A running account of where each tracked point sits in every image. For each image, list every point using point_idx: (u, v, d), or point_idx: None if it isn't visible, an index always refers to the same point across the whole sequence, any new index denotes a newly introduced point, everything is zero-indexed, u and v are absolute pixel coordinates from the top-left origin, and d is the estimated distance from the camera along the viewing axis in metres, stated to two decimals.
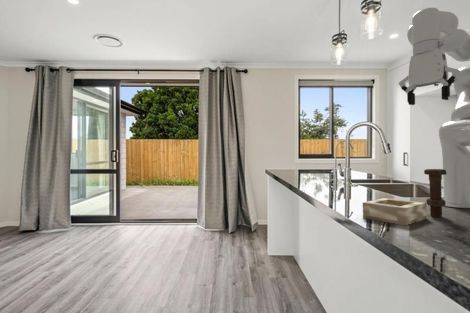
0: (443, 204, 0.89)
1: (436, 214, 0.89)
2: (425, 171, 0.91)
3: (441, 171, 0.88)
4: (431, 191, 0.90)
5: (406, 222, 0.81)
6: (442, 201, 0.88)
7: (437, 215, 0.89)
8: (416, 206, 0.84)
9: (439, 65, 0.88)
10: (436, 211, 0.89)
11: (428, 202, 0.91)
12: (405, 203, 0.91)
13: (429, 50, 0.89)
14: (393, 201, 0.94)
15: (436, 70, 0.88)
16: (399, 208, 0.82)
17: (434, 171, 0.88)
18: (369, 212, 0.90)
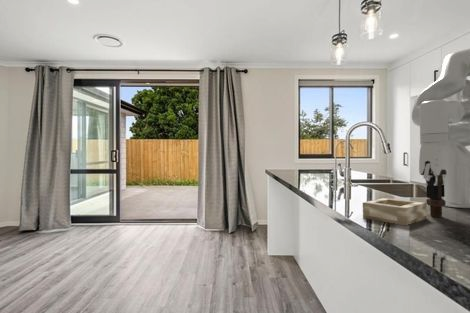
0: (443, 204, 0.89)
1: (436, 214, 0.89)
2: None
3: (441, 171, 0.88)
4: None
5: (406, 222, 0.81)
6: (442, 201, 0.88)
7: (437, 215, 0.89)
8: (416, 206, 0.84)
9: (448, 160, 0.91)
10: (436, 211, 0.89)
11: (428, 202, 0.91)
12: (405, 203, 0.91)
13: (446, 143, 0.89)
14: (393, 201, 0.94)
15: (447, 164, 0.90)
16: (399, 208, 0.82)
17: None
18: (369, 212, 0.90)
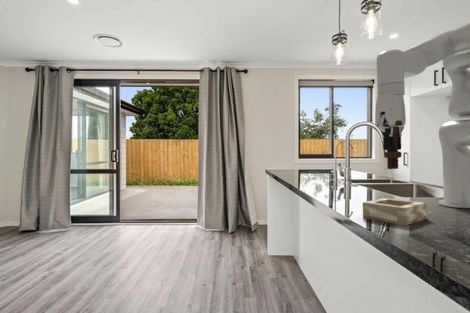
0: (399, 155, 0.88)
1: (392, 166, 0.88)
2: None
3: (396, 122, 0.87)
4: None
5: (406, 222, 0.81)
6: (398, 152, 0.87)
7: (393, 167, 0.88)
8: (416, 206, 0.84)
9: None
10: (392, 163, 0.88)
11: (385, 155, 0.90)
12: (405, 203, 0.91)
13: (402, 94, 0.88)
14: (393, 201, 0.94)
15: (404, 116, 0.89)
16: (399, 208, 0.82)
17: None
18: (369, 212, 0.90)
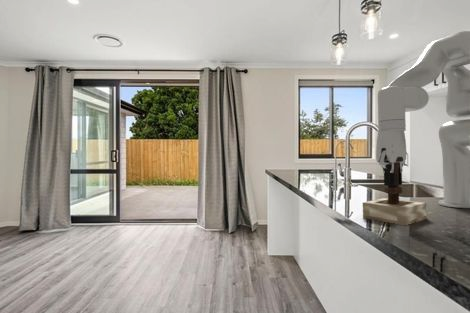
0: (400, 191, 0.88)
1: (393, 202, 0.88)
2: None
3: (397, 158, 0.87)
4: None
5: (406, 222, 0.81)
6: (399, 188, 0.88)
7: (394, 203, 0.88)
8: (416, 206, 0.84)
9: (405, 147, 0.90)
10: (393, 199, 0.88)
11: (386, 190, 0.90)
12: (405, 203, 0.91)
13: (403, 130, 0.88)
14: None
15: (405, 151, 0.90)
16: (399, 208, 0.82)
17: None
18: (369, 212, 0.90)
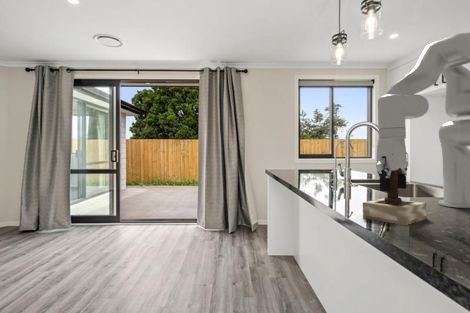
0: (399, 202, 0.88)
1: None
2: None
3: None
4: None
5: (406, 222, 0.81)
6: (398, 199, 0.88)
7: None
8: (416, 206, 0.84)
9: None
10: None
11: (385, 201, 0.90)
12: (405, 203, 0.91)
13: (404, 138, 0.88)
14: None
15: (405, 159, 0.90)
16: (399, 208, 0.82)
17: None
18: (369, 212, 0.90)
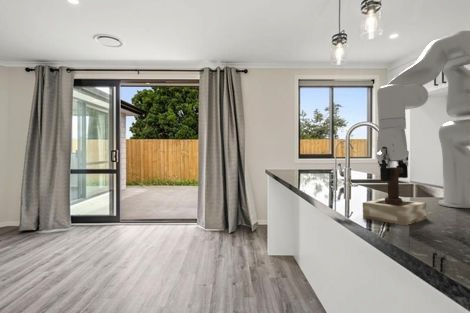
0: (399, 203, 0.88)
1: None
2: None
3: (397, 169, 0.87)
4: (388, 189, 0.89)
5: (406, 222, 0.81)
6: (398, 200, 0.88)
7: None
8: (416, 206, 0.84)
9: (406, 145, 0.90)
10: None
11: (386, 201, 0.90)
12: (405, 203, 0.91)
13: (404, 128, 0.88)
14: None
15: (406, 149, 0.90)
16: (399, 208, 0.82)
17: None
18: (369, 212, 0.90)
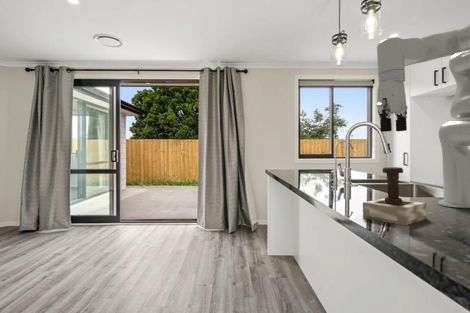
0: (399, 203, 0.88)
1: None
2: (383, 169, 0.91)
3: (397, 169, 0.87)
4: (388, 190, 0.89)
5: (406, 222, 0.81)
6: (398, 200, 0.88)
7: None
8: (416, 206, 0.84)
9: (405, 98, 0.93)
10: None
11: (386, 201, 0.90)
12: (405, 203, 0.91)
13: (403, 81, 0.91)
14: None
15: (405, 102, 0.92)
16: (399, 208, 0.82)
17: (390, 169, 0.88)
18: (369, 212, 0.90)
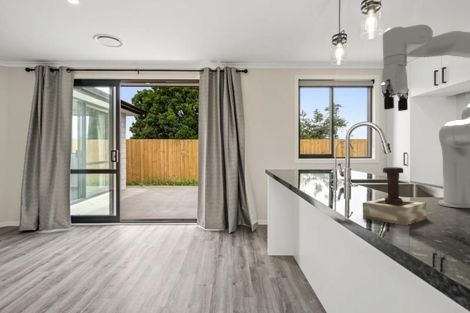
0: (400, 203, 0.88)
1: None
2: (383, 169, 0.91)
3: (397, 169, 0.87)
4: (388, 189, 0.89)
5: (406, 222, 0.81)
6: (398, 200, 0.88)
7: None
8: (416, 206, 0.84)
9: None
10: None
11: (386, 201, 0.90)
12: (405, 203, 0.91)
13: (405, 65, 1.03)
14: None
15: (406, 84, 1.05)
16: (399, 208, 0.82)
17: (390, 169, 0.88)
18: (369, 212, 0.90)
